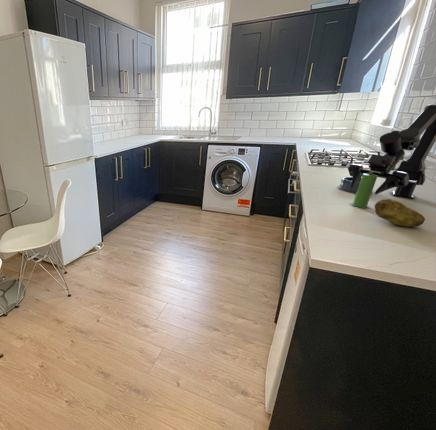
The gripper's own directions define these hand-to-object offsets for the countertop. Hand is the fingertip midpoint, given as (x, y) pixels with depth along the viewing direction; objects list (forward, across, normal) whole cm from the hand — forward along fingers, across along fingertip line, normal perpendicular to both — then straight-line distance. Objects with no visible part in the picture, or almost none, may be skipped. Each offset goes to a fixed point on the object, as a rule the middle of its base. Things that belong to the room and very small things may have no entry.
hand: (362, 190), depth 111 cm
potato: (+10, +15, -1) cm, 19 cm away
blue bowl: (-13, -14, +22) cm, 29 cm away
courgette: (+4, 0, +6) cm, 7 cm away
